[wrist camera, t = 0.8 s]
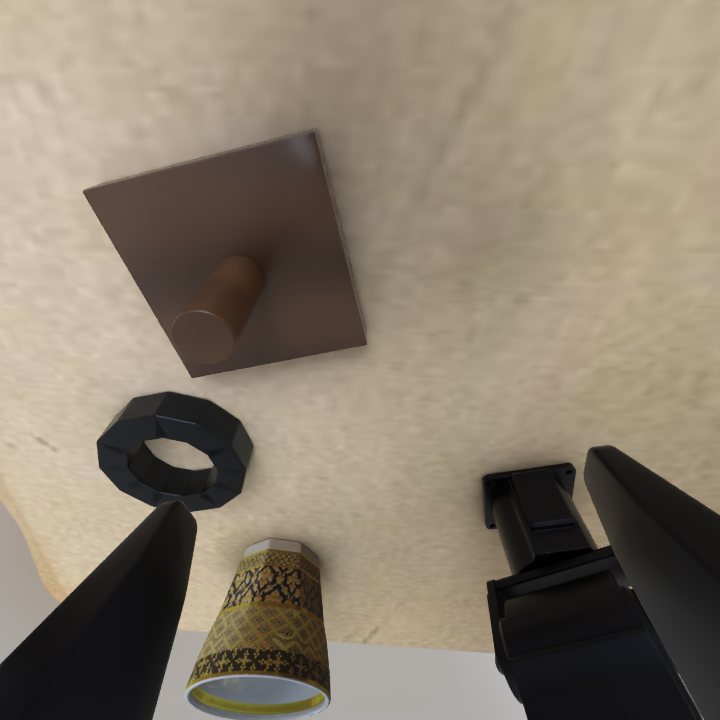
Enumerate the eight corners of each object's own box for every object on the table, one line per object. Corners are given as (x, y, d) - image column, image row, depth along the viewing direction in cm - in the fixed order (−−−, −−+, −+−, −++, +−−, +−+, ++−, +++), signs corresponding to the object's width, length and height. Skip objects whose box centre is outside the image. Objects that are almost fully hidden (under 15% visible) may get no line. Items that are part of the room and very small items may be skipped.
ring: (270, 475, 28) (264, 501, 27) (158, 493, 30) (145, 519, 28) (219, 381, 24) (207, 405, 22) (86, 406, 25) (65, 431, 23)
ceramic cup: (200, 548, 34) (151, 694, 26) (293, 513, 31) (271, 663, 23) (289, 606, 40) (272, 738, 32) (372, 581, 38) (377, 718, 29)
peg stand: (366, 331, 22) (370, 417, 16) (200, 363, 23) (147, 454, 17) (317, 127, 16) (295, 146, 10) (100, 184, 17) (-29, 229, 11)
